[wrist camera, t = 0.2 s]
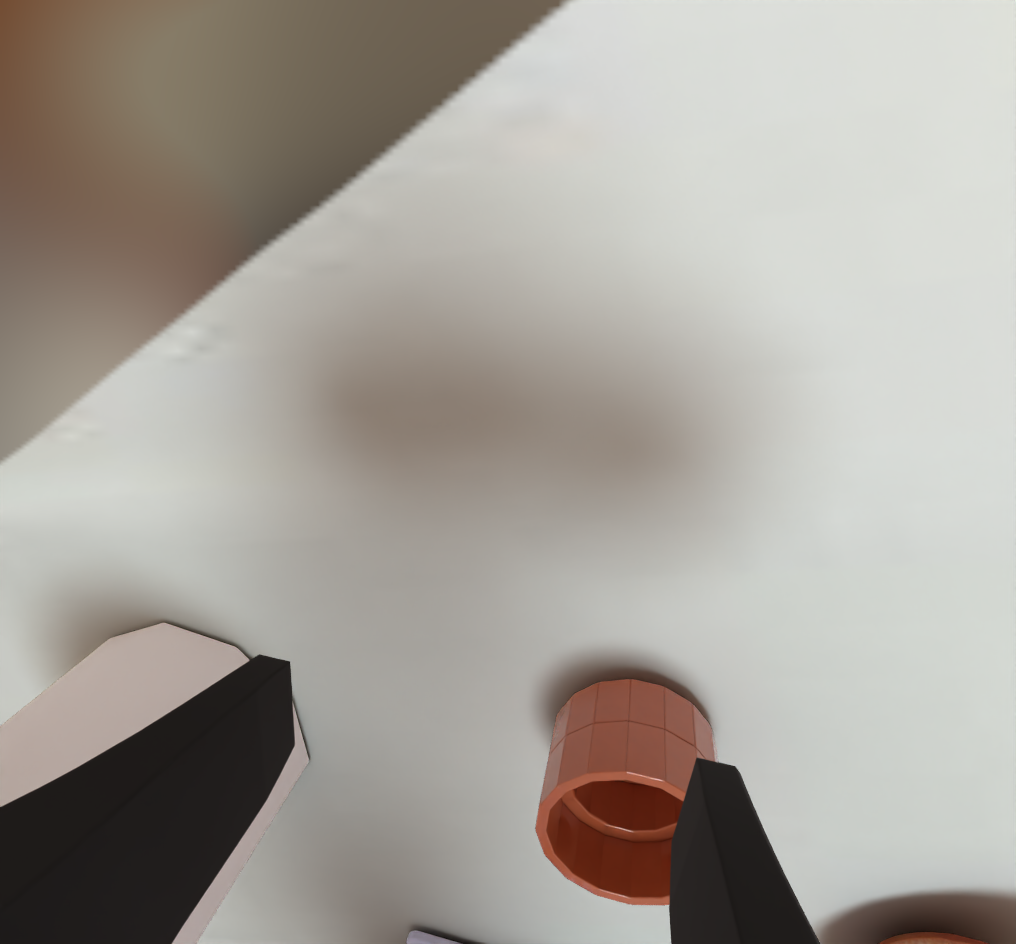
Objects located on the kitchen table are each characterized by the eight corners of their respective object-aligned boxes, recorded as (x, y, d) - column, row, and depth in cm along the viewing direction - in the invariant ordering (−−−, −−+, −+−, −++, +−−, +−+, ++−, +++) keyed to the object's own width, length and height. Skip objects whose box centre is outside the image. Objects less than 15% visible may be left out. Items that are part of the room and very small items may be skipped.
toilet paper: (290, 836, 30) (79, 1202, 19) (93, 749, 30) (-220, 1056, 20) (329, 683, 25) (83, 1048, 14) (98, 586, 26) (-304, 865, 15)
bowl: (695, 804, 24) (703, 925, 20) (548, 767, 25) (527, 876, 21) (731, 689, 21) (747, 801, 17) (566, 654, 22) (547, 752, 18)
